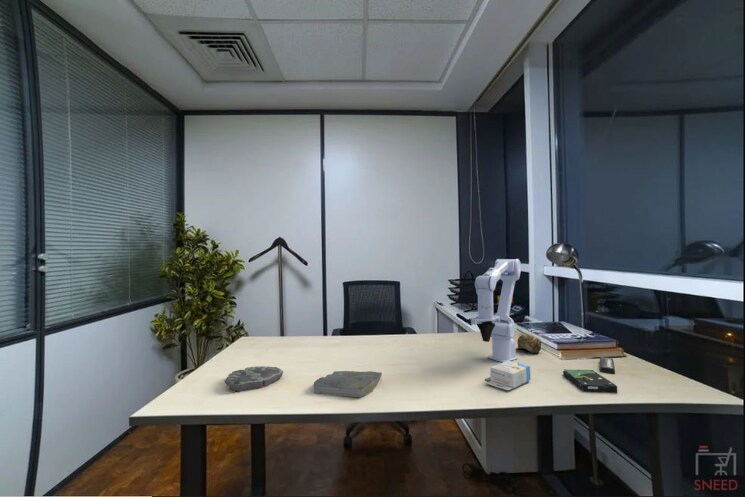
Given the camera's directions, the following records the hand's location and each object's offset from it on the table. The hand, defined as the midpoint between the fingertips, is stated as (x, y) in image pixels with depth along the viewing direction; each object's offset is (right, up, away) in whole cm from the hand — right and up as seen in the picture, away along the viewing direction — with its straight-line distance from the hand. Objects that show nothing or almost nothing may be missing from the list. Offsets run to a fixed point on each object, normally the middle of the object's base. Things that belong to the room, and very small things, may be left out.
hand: (486, 341), depth 127 cm
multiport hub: (+47, -10, -1) cm, 48 cm away
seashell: (+27, -11, +21) cm, 36 cm away
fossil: (-53, -11, -16) cm, 57 cm away
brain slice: (-88, -12, -11) cm, 89 cm away
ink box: (+8, -7, -11) cm, 15 cm away
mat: (+2, -10, -14) cm, 18 cm away
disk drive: (+29, -10, -17) cm, 35 cm away
